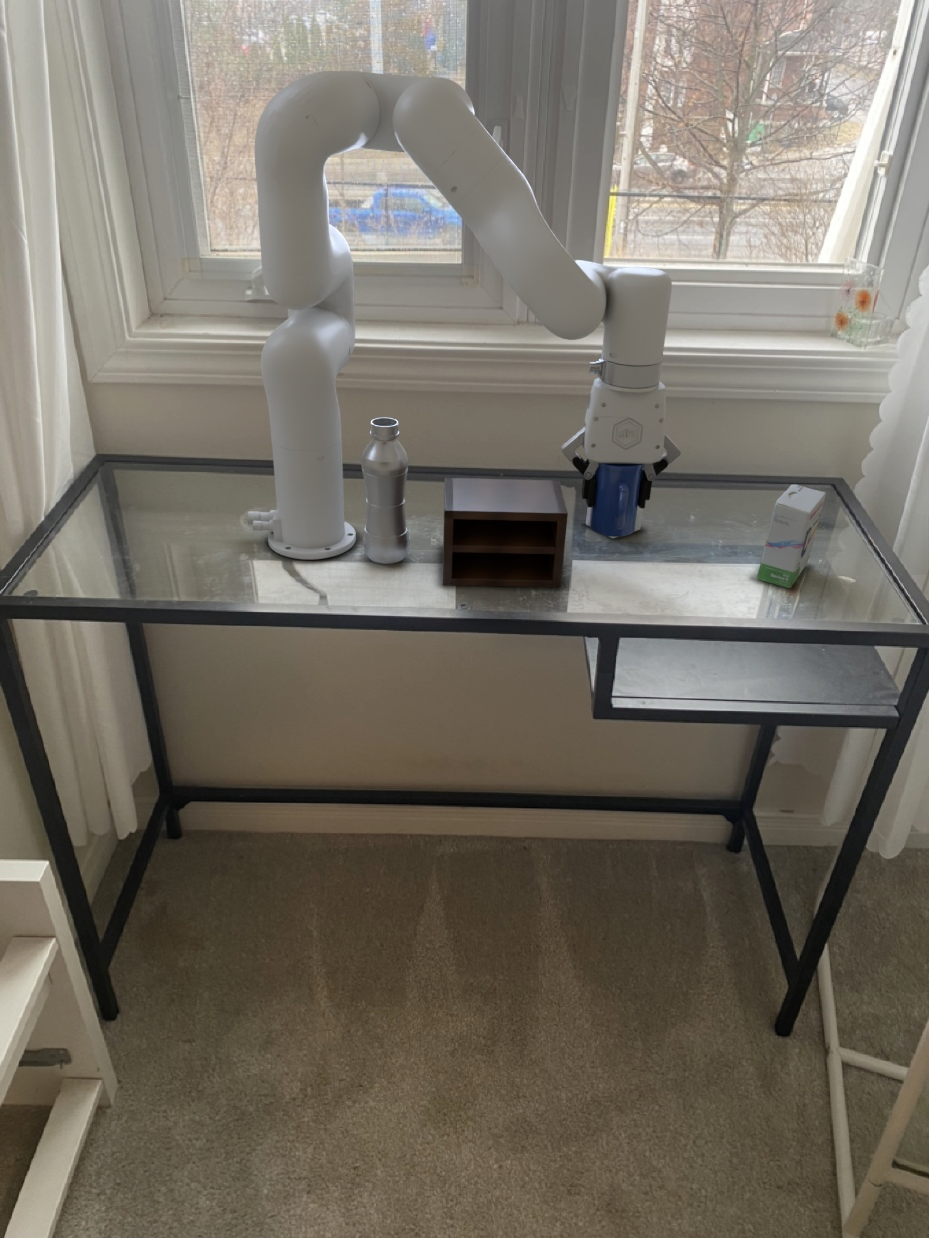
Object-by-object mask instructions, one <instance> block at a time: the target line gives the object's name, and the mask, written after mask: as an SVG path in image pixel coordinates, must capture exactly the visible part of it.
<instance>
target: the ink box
mask: <svg viewBox="0 0 929 1238" xmlns="http://www.w3.org/2000/svg"><path fill="white" fill-rule="evenodd" d="M826 496H827V492H826V491H821V490H817V489H814V488H810V487H806V486H802V485H799V484H794V483H793V484H791V485H790V486H789V487H788V488H787V489H786V490H785V491H784V492H783V494H781V495H780V496H779V497H778V499H776V502H775V504H774V507H773V511H772V514H771V520H770V524H769V528H768V531H767V536H766V540H765V544H764V547H763V552H762V556H761V560H760V564H759V568H758V571H757V572H758V573H757V576H756V580H758V581H763V582H766V583H769V584H773V585H776V586H780V587H784V588H787V589H791V588H792V587H793V586H794V584H795V583H796V581H797V580H798V578H799V576H800V575H801V573H802V572H803V570H804V569H805V568H806V566H807V565H808V562H809V558H810V555H811V552H812V548H813V544H814V540H815V537H816V533H817V529H818V525H819V522H820V518H821V514H822V512H823V511H822V510H823V507H824V504H825V500H826Z"/></svg>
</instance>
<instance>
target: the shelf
mask: <svg viewBox="0 0 929 1238" xmlns="http://www.w3.org/2000/svg"><path fill="white" fill-rule="evenodd" d="M443 486H444V487H443V488H444V489H443V528H442V529H443V532H442V533H443V534H442V586H469V587H470V586H474V587H476V586H477V587H478V586H479V587H521V588H523V587H524V588H525V587H527V588H528V587H530V588H561V587H562V580H563V579H562V578H563V569H564V557H565V547H566V546H565V545H566V536H567V524H568V515H569V513H568V509H567V505H566V501H565V498H564V493H563V490H562V489H563V488H562V485H561V482H560V480H558V479H557V480H553V479H552V480H551V479H511V478H509V479H508V478H503V479H502V478H472V477H471V478H470V477H469V478H468V477H467V478H466V477H444V484H443Z"/></svg>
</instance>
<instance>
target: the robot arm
mask: <svg viewBox="0 0 929 1238" xmlns="http://www.w3.org/2000/svg"><path fill="white" fill-rule="evenodd" d="M474 108H475V107H474V105H473V102H472V100H471V97H470V96H469V94H468V93H467V92H466V90H465V89H464V88H463V87H462V86H461V85H460V84H458V83H457V82H456V81H455V80H452V79H450V78H445V77H429V76H409V75H401V74H400V75H398V74H388V73H376V72H367V71H358V70H323V71H322V70H321V71H317V72H312V73H310V74H307V75H304V76H301V77H299V78H297V79H295V80H293V81H291V82H290V83H288V84H287V85H285V86H284V87H283V88H281V89H280V90H279V91H278V92H277V93H275V95H274V96H273V97H271V99H269V101H268V102H267V104H266V105H265V107H264V109H263V111H262V112H261V114H260V117H259V119H258V123H257V126H256V129H255V131H256V132H255V136H254V137H255V138H254V166H255V178H256V192H257V214H258V228H259V229H258V230H259V243H260V245H259V246H260V257H261V258H260V259H261V260H260V261H261V274H262V275H261V276H262V279H263V284H264V287H265V289H266V291H267V293H268V295H269V297H270V298H271V299H272V300H273V302H274V303H276V304H277V305H278V306H280V307H282V308H284V309H286V310H287V317H288V318H287V319H286V320H284V321H283V322H282V323H280V324H279V325H278V326H277V327H276V328H275V329H274V330H272V332H271V333H270V334H269V335H268V337H267V338H266V340H265V343H264V345H263V347H262V351H261V356H260V373H261V379H262V383H263V388H264V392H265V396H266V401H267V408H268V416H269V425H270V426H269V427H270V439H271V446H272V447H271V448H272V449H271V450H272V461H273V462H272V463H273V474H274V476H273V477H274V488H275V503H276V509H270V510H269V511H267V512H266V511H258V510H257V511H251V510H249V511H247V516H246V519H247V525H249V526H250V525H252V530H253V531H262V532H263V531H269V532H268V534H267V543H268V545H269V547H270V549H272V551H274V552H275V553H277V554H279V555H281V556H284V557H286V558H291V559H295V560H311V561H312V560H322V559H329V558H332V557H336V556H339V555H342V554H344V553H345V552H347V551H349V550H350V549H351V548H353V547H354V545H355V544H356V541H357V534H356V533H357V532H356V529H355V527H353V526H352V524H350V523H349V522H347V521H345V498H344V497H345V496H344V495H345V494H344V470H343V469H344V467H343V439H342V418H341V410H340V404H339V398H338V393H337V386H336V385H337V384H336V381H337V376H338V374H340V372H341V371H342V370H343V368H344V367H346V365H347V364H348V362H350V359H351V358H352V355H353V353H354V350H355V345H356V314H355V313H356V307H355V306H356V305H355V272H354V262H353V255H352V251H351V248H350V246H349V244H348V241H347V239H346V238H345V236H344V235H343V234H342V233H341V232H340V231H339V230H338V229H337V228H336V226H333V224H330V219H329V218H330V215H329V214H330V213H329V211H330V209H329V208H330V207H329V206H330V205H329V203H330V202H329V201H330V199H329V189H328V183H327V179H326V173H325V172H326V171H325V170H326V169H325V168H326V164H327V161H328V160H329V159H330V158H331V157H333V156H335V155H339V154H343V153H346V152H351V151H353V150H355V149H356V150H358V149H359V150H360V149H361V150H374V151H383V152H392V153H393V152H396V153H405V154H406V155H407V156H408V157H409V159H410V160H411V161H412V162H413V163H414V165H415V166H416V167H417V168H418V169H419V171H421V173H422V174H423V175H424V176H425V177H426V179H427V180H428V181H429V182H430V183H431V184H432V186H433V187H434V188H435V189H436V190H437V192H439V194H440V195H441V196H442V198H444V200H445V201H446V202H447V203H448V205H449V206H451V208H452V209H453V210H454V211H455V212H456V213H457V215H459V218H461V220H462V221H463V222H464V223H465V224H466V226H467V227H468V228H469V230H471V232H472V234H473V235H474V236H475V238H476V240H477V242H478V243H479V245H480V246H481V248H482V249H483V250H484V252H485V253H486V255H487V256H488V258H489V259H490V261H491V262H492V263H493V265H494V267H495V268H496V269H497V271H498V272H499V273H500V275H501V276H502V278H503V279H504V281H505V282H506V283H507V285H508V286H509V287H510V289H511V290H512V291H513V292H514V293H515V295H516V296H517V298H518V299H519V300H520V301H521V302H522V303H523V304H524V305H525V307H527V309H528V310H529V311H530V313H532V314H533V315H534V317H535V318H536V319H537V320H538V321H539V322H540V323H541V325H542V326H543V327H544V328H545V329H546V330H548V331H549V332H550V333H551V334H553V335H554V336H556V337H558V338H560V339H564V340H568V341H576V340H581V339H583V338H586V337H588V336H590V335H591V334H592V333H594V332H595V331H596V329H598V327H599V326H600V325H601V323H603V326H604V327H603V328H604V329H603V338H602V339H603V340H602V347H601V354H600V357H599V358H598V360H597V361H592V362H591V361H590V362H588V373H589V374H594V375H597V376H598V378H594V380H593V384H592V386H591V389H590V393H589V397H588V401H587V407H586V411H585V417H584V422H583V427H582V428H581V429H580V430H579V431H577V432H576V433H575V434H574V435H573V436H571V437H570V438H569V439H568V440H567V441H566V442H565V443H563V444H562V445H561V448H560V449H561V452H562V454H563V455H564V456H565V457H566V459H567V460H568V461H569V462H570V463H571V464H572V465H573V466H574V468H576V471H578V472H579V473H580V474H581V475H582V486H581V499H582V500H585V502H586V506H587V508H588V507H592V506H594V497H595V488H596V479H595V476H594V473H595V472H596V470H597V468H598V463H614V464H644V467H643V470H642V478H641V485H640V493H639V501H638V506H639V507H640V508H643V509H645V508H646V501H650V499H651V493H652V487H653V486H652V484H653V482H654V481H655V480H656V478H657V476H658V475H660V474H661V473H662V472H663V471H665V469H667V468H668V466H669V465H670V464H672V463H673V462H674V461H675V460H677V459H678V458H679V457H680V456H681V454H682V453H681V450H680V448H679V447H678V446H677V444H675V442H674V441H673V440H672V439H671V438H670V436H669V435H667V434H666V421H667V420H666V419H667V393H666V392H667V391H666V385H665V384H664V383H663V382H661V381H660V379H661V372H662V365H663V359H664V357H663V356H664V351H665V350H664V349H665V341H666V335H667V328H668V327H667V326H668V321H669V320H668V319H669V313H670V312H669V311H670V305H671V297H672V288H673V283H672V282H673V281H672V278H671V277H670V275H669V274H668V273H667V272H665V271H664V270H661V269H658V268H653V267H645V266H627V267H618V266H612V265H607V264H603V263H598V262H593V261H589V260H581V259H574V258H573V256H572V255H571V254H570V253H569V252H568V251H567V249H566V248H565V247H564V246H563V245H562V243H561V241H560V240H559V239H558V238H557V236H556V234H555V233H554V232H553V230H552V229H551V228H550V226H549V224H548V222H547V221H546V219H545V218H544V216H543V213H542V212H541V210H540V206H539V205H538V202H537V200H536V197H535V193H534V191H533V189H532V187H531V184H530V183H529V181H528V179H527V178H526V176H525V174H524V173H523V172H522V171H521V170H520V169H519V167H518V166H517V165H516V163H514V161H513V160H512V159H511V158H510V157H509V155H508V154H507V153H506V152H505V151H504V149H503V148H502V147H501V145H499V143H497V141H496V140H495V139H494V137H493V136H492V135H491V134H490V133H489V132H488V130H487V129H486V128H485V126H484V124H482V122H481V121H480V120H479V119H478V117H477V116H476V115H475V109H474ZM581 446H582V448H583V453H584V456H585V459H584V458H583V457H582V456H581V455H580V454H578V452H577V449H579V447H581ZM664 449H665V452H664Z"/></svg>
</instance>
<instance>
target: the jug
mask: <svg viewBox="0 0 929 1238" xmlns="http://www.w3.org/2000/svg"><path fill="white" fill-rule="evenodd" d="M643 467H644V464H614V463H598V468H597V470H596V472H595V475H594V476H595V479H596V488H595V497H594V506H592V507H591V513H590V523H589V526H590V527H589V526H588V527H589V529H590V530H592V532H594V533H597V534H598V535H601V536H606V537H609V536H612V537H616V538H620V537H625V536H629V535H631V534H633V533H634V532H635V531H634V530H635V523H636V516H637V508H638V501H639V493H640V485H641V478H642V470H643Z"/></svg>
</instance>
